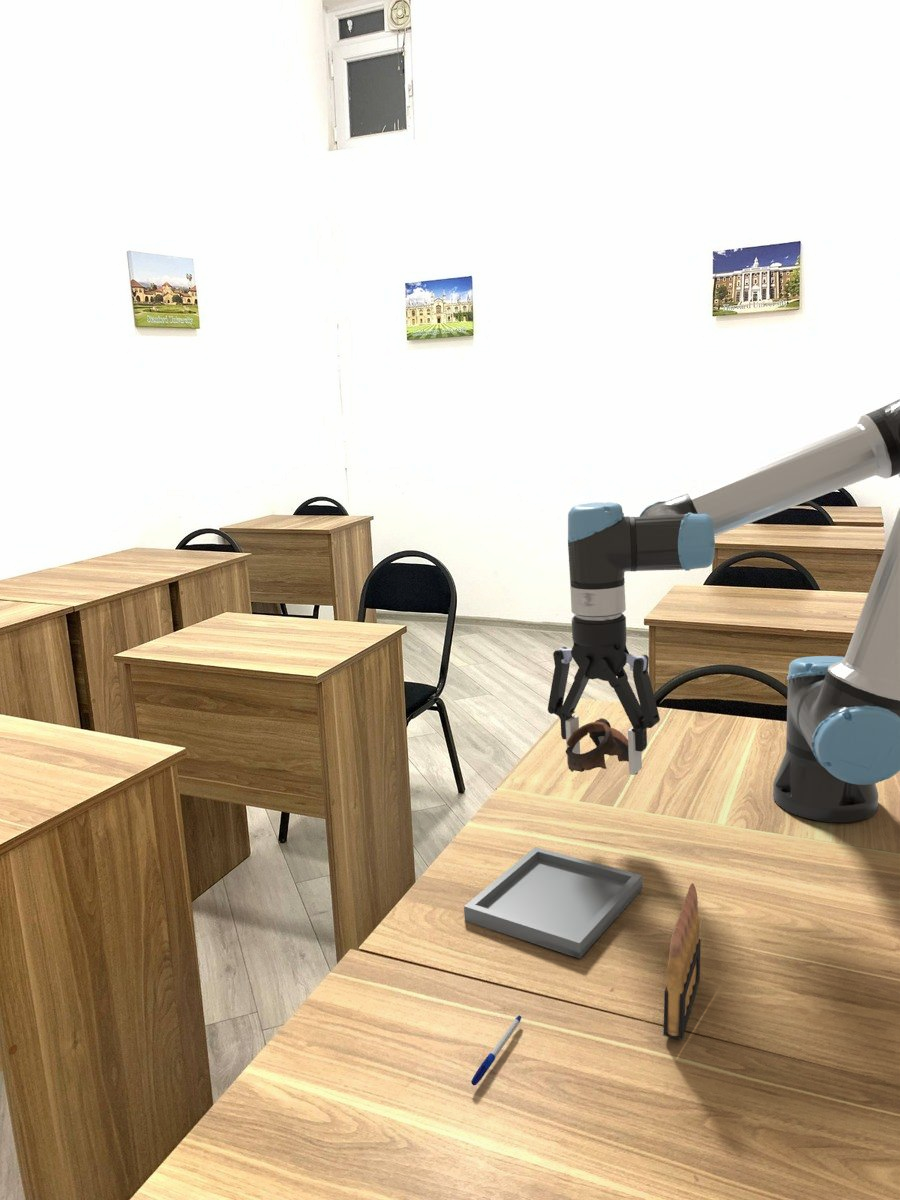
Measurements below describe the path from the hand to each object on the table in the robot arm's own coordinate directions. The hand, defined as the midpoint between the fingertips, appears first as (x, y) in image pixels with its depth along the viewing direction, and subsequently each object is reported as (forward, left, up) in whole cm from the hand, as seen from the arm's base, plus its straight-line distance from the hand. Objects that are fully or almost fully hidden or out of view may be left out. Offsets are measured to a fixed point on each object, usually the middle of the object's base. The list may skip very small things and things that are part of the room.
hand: (604, 765), depth 133 cm
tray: (-3, +20, -11) cm, 23 cm away
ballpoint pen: (-11, +47, -12) cm, 50 cm away
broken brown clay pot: (0, 0, -1) cm, 1 cm away
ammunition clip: (-24, +31, -11) cm, 41 cm away
